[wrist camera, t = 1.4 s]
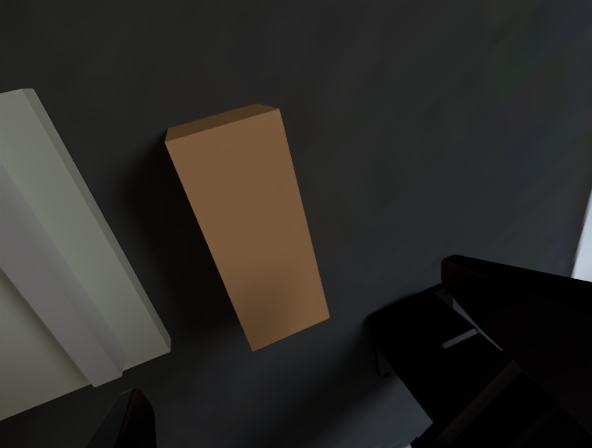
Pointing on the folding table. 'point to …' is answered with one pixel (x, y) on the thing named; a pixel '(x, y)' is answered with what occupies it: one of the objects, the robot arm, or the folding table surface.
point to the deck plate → (60, 272)
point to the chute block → (252, 218)
